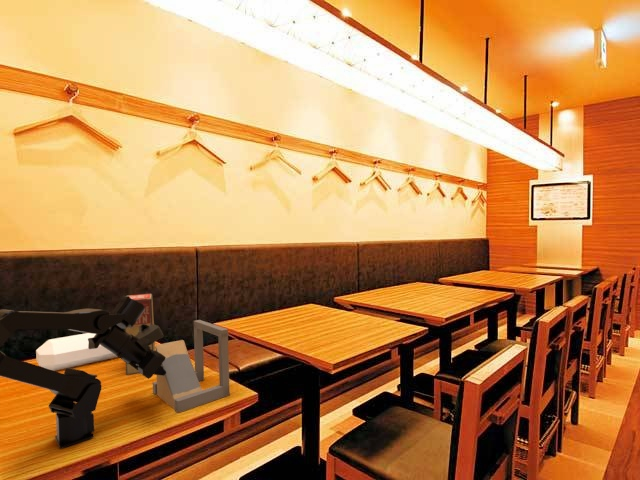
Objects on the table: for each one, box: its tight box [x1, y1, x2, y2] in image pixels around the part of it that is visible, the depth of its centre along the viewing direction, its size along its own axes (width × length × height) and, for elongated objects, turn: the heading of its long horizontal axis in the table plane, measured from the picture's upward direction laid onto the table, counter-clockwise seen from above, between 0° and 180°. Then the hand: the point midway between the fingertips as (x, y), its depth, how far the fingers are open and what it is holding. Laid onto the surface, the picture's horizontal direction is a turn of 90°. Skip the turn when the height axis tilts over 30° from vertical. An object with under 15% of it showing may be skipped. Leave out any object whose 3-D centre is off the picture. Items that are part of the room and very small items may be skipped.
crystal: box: [35, 333, 119, 372], centre depth 141 cm, size 14×10×28 cm
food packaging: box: [123, 293, 156, 376], centre depth 133 cm, size 13×9×25 cm
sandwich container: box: [155, 339, 203, 410], centre depth 107 cm, size 9×15×15 cm, turn 43°
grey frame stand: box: [152, 319, 230, 414], centre depth 109 cm, size 15×18×19 cm
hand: (164, 373), depth 105 cm, fingers closed
